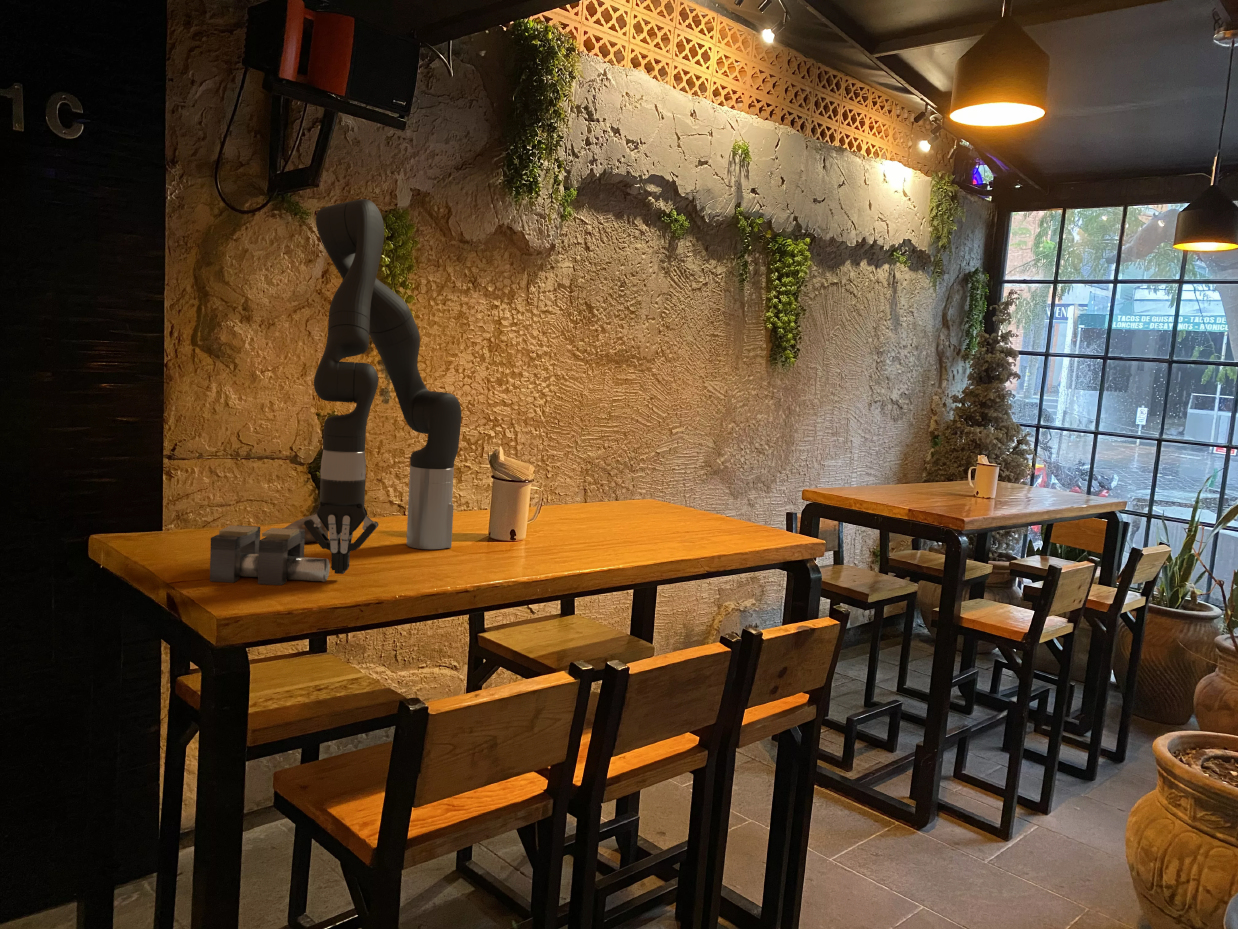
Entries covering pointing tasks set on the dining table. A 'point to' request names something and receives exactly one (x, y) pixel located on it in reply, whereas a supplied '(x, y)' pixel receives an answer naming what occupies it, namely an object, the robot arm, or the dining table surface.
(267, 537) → the grey u-shaped stands
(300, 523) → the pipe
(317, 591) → the dining table surface
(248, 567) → the tube
